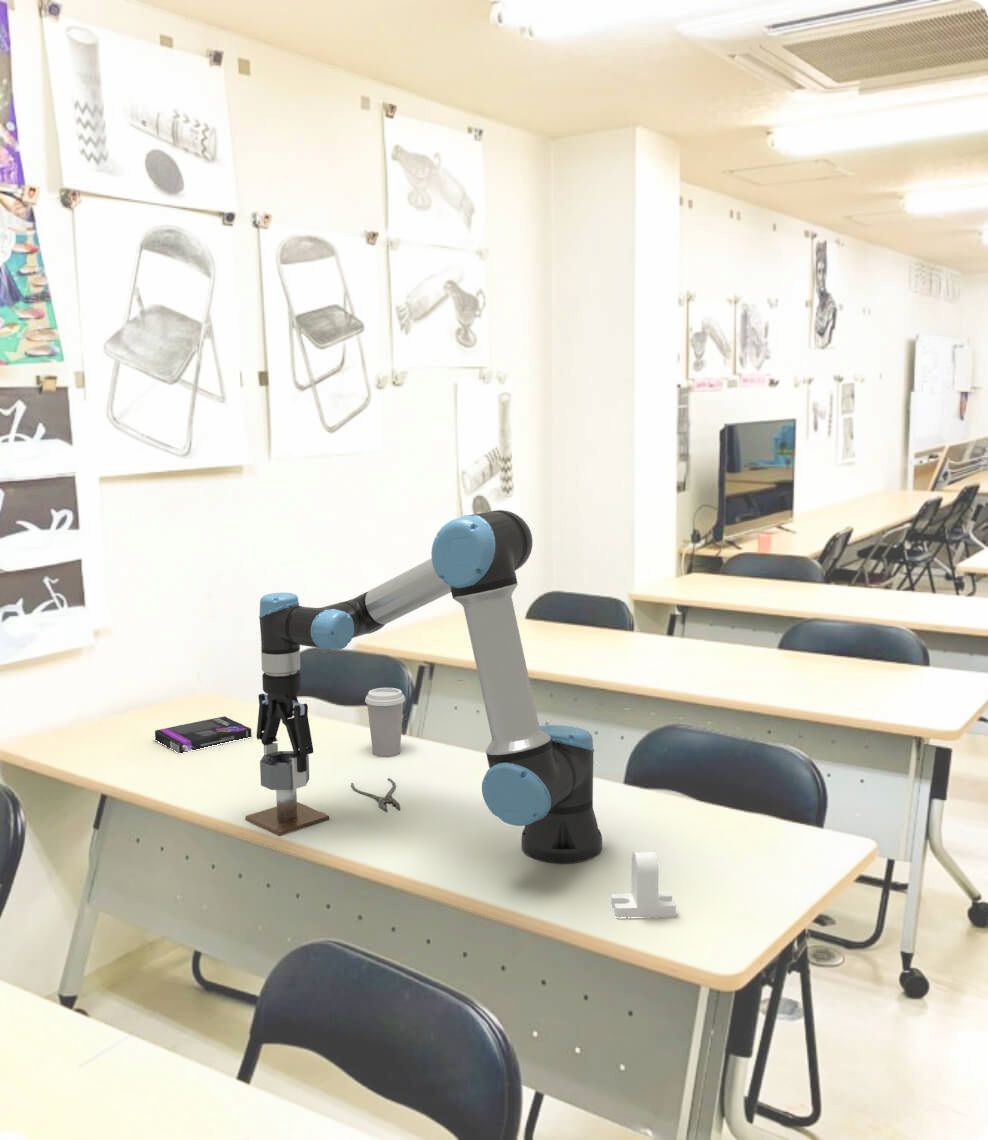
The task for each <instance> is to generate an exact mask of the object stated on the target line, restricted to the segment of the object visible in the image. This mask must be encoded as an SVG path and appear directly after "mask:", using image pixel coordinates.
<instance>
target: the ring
mask: <svg viewBox="0 0 988 1140" xmlns="http://www.w3.org/2000/svg"><path fill="white" fill-rule="evenodd" d="M292 755H294V751H293V750H278V752H274V753H271V754H267V755H264V754H263V756H262V757H261V759H260V760H259V770H260V771H259V772H260V773H259V774H260V786H262V787H264V788H266V789H268V790H271V791H276V790H292V789H294V788H293V775H292ZM309 755H310V754H308V755H307V756H306V765H307V769H306V785H307V784H308V783H309V780H310V761H309V760H310V757H309Z"/></svg>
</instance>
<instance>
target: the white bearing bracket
mask: <svg viewBox="0 0 988 1140" xmlns="http://www.w3.org/2000/svg"><path fill="white" fill-rule="evenodd" d="M658 862H659V861H658V857H657V853H656V852H655V851H638V852H637V851H634V852H632V855H631V892H630V893H612V894H610V895H611V899H610V901H611V902H610V903H611V905H612V907H611V909H612V908H614V909H613V913H615V915H614V917H615V916H616V917H619V918H620V917H626V918H628V917H630V918H631V917H668V918H675V917H676V915H677V914H676V913H677V904H676V902H675V901H676V900H675V901H673V895H672V893H671V892H670V891H659V863H658ZM611 905H610V906H611Z"/></svg>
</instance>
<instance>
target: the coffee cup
mask: <svg viewBox="0 0 988 1140" xmlns="http://www.w3.org/2000/svg"><path fill="white" fill-rule="evenodd" d="M364 699H365V700H364V703H366V704H367V705H366V706H367V714H368V723H369V731H370V740H371V741H370V742H371V749H372V754H373V756H374V757H379V758H390V757H395V756H398V755H400V754H401V744H402V743H401V742H402V727H403V714H404V713H403V711H404V703H405V702H406V696H405V695H404V694H403V691H402V690H401V689H399V688H394V687H378V688H374V689H370V690H369V691H368V693H367V695H366V696H365V698H364Z"/></svg>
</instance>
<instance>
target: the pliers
mask: <svg viewBox="0 0 988 1140" xmlns="http://www.w3.org/2000/svg"><path fill="white" fill-rule="evenodd" d="M387 781H388V782H389V783H391V785H392V786H391V788H390V790H388V792H387V793H386V794H385V796H384V797H383V796H379V795H375V794H373V793H369V792H365V791H362V790H359V789H357V788H356V787H355V783H353V782H351V783H350V788H351V789H352V790H353V791H354V792H356V793H358V794H360V795H363V796H365V797H368V798H371V799H374V800H375V801H376V802H377V804H378V808H379V809H380V810H381V811H384V812H385V813H388V811H389V809H388V807H387V805H392V806H391V807H395V809H396V810H398V811H401V804H400V803H399V802H398V801H397V800H396V799H395V797H393V793H394V792H395V790H396V788H397V785H396V782H395V781H394V780H393V779H392V778H390V777H387Z"/></svg>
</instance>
